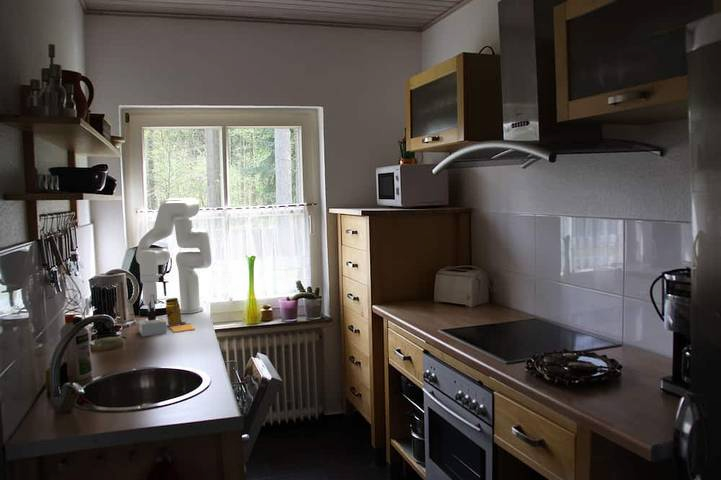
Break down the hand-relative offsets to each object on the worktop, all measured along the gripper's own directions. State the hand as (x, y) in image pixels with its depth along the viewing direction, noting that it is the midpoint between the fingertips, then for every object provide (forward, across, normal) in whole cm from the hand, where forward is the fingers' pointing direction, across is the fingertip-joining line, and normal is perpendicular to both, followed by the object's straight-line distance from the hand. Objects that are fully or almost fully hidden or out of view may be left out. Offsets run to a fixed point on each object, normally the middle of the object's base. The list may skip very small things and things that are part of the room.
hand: (151, 319), depth 263 cm
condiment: (+6, -10, +12) cm, 17 cm away
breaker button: (+4, 0, 0) cm, 4 cm away
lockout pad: (+6, 0, +13) cm, 14 cm away
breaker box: (+6, 0, 0) cm, 6 cm away
